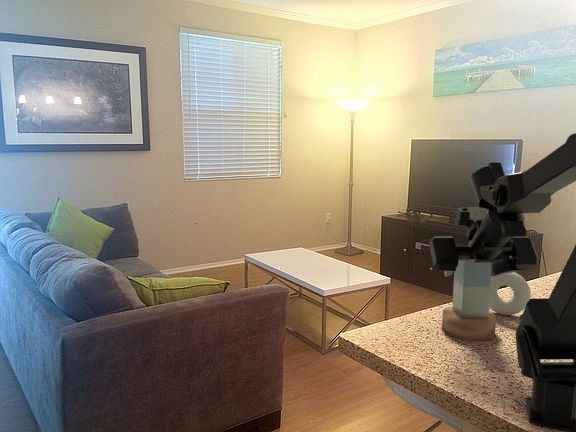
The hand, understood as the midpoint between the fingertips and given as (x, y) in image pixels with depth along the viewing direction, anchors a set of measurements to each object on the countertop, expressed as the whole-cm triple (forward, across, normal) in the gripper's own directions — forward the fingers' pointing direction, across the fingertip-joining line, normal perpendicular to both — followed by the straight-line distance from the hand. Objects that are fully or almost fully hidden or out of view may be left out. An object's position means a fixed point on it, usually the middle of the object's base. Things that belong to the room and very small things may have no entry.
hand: (468, 274), depth 95 cm
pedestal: (+7, 0, +9) cm, 11 cm away
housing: (+4, 0, +6) cm, 8 cm away
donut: (+14, -12, +3) cm, 18 cm away
